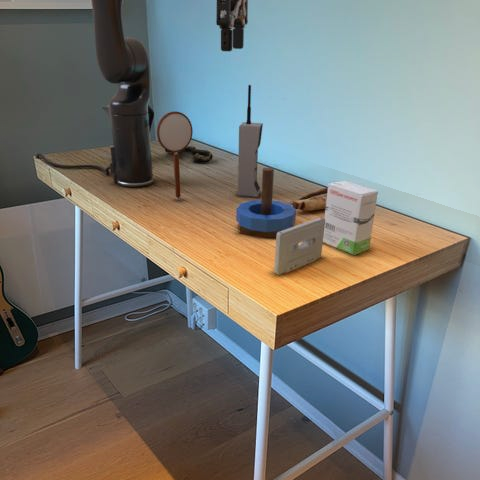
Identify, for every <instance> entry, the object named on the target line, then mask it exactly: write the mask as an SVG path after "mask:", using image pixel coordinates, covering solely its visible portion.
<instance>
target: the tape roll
mask: <svg viewBox="0 0 480 480" xmlns="http://www.w3.org/2000/svg"><path fill="white" fill-rule="evenodd" d="M235 210H236V216H235V220H236V222H237V223H238V225H239V227H240V226H242V227H245V228H247V229H250V230H255V231H262V232H273V231H282V230H285V229H288V228H291V227H294V224H295V223H296V215H297V209H295V208H294V207H293V204H290V203H286V202H283V201H281V200H273V199H272V212H271V215H261V199H251V200H248V201H245V202H242V203H240V204H239V205H238V206H237V207H236V209H235Z"/></svg>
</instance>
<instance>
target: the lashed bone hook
mask: <svg viewBox="0 0 480 480" xmlns="http://www.w3.org/2000/svg"><path fill="white" fill-rule="evenodd" d="M327 192H328V187H325V188H321V189H317V190H314V191H311V192H308V193H306V194H304V195H302V196H301V197H299V198H297V199H296V200H294V201H293V202H292V206H293V207H294V208H295V209H296V210H300V211H304V212H309V211H319V210H326V200H327Z"/></svg>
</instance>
